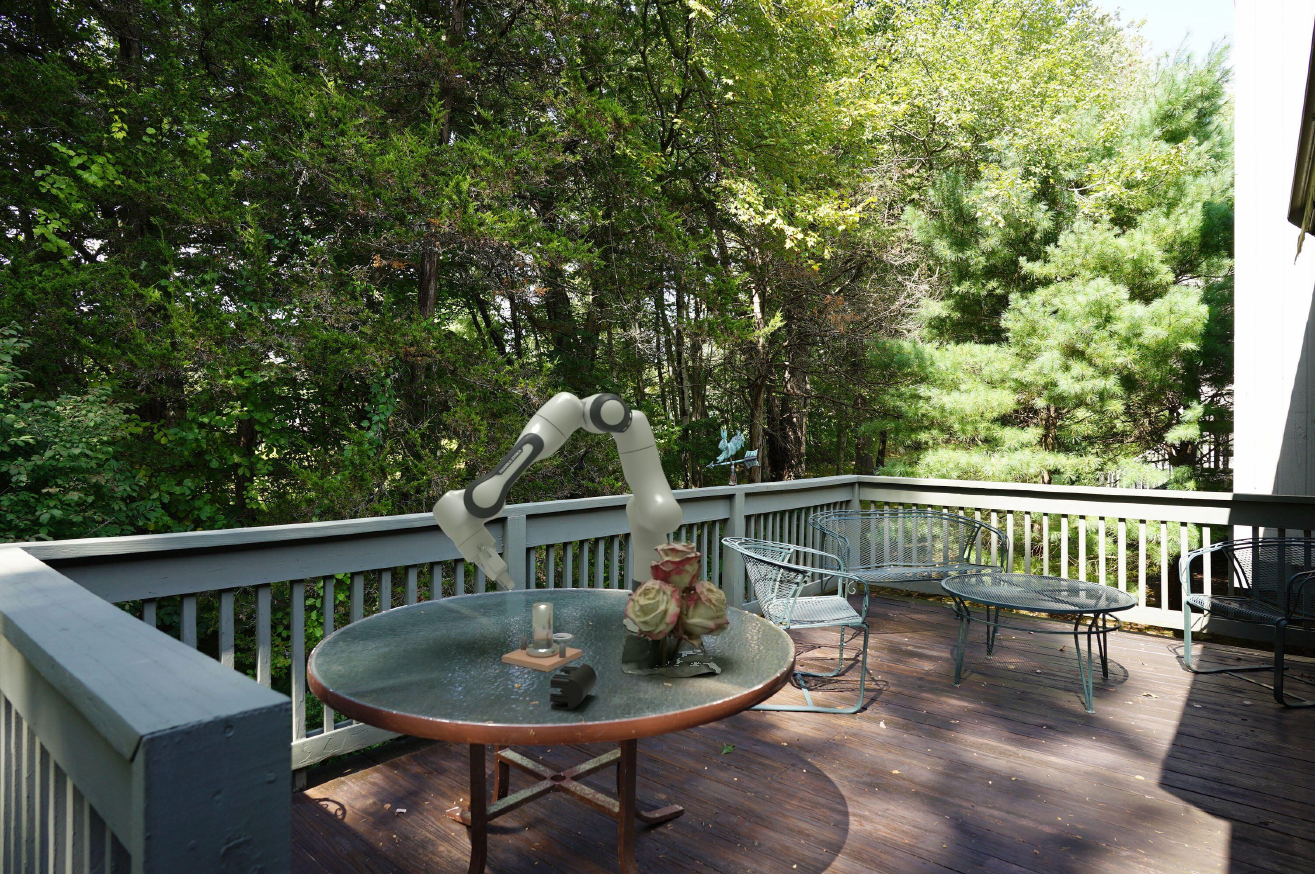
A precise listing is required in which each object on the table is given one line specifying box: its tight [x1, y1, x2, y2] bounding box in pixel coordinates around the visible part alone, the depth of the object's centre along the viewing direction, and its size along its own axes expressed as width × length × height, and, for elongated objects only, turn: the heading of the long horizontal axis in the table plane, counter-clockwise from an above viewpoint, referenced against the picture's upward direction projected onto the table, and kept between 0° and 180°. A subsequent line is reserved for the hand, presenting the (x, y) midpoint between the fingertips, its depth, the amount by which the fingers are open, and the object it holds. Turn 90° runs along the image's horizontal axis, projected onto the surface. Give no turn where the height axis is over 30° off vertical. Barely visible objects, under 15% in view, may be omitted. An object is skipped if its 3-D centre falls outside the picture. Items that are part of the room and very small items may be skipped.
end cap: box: [549, 663, 597, 711], centre depth 150 cm, size 10×7×7 cm
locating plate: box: [501, 635, 583, 673], centre depth 177 cm, size 14×14×4 cm
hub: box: [526, 601, 559, 658], centre depth 177 cm, size 8×8×12 cm
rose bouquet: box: [620, 540, 731, 679], centre depth 176 cm, size 26×29×30 cm
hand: (511, 588), depth 185 cm, fingers open, 8 cm apart
